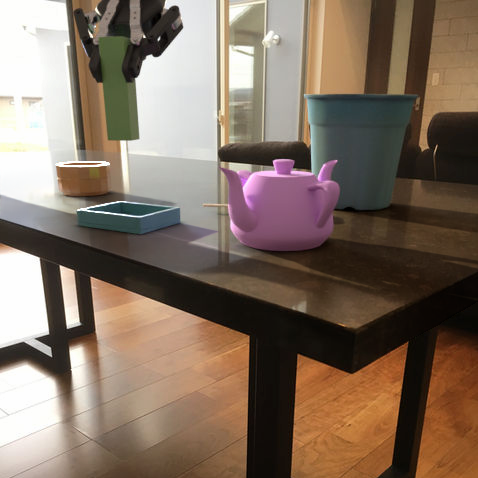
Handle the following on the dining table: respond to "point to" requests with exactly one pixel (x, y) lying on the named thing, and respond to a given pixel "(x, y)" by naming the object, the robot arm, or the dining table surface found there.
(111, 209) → the tray
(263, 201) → the teapot
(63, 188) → the bowl
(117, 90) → the block
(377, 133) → the flower pot
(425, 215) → the dining table surface
